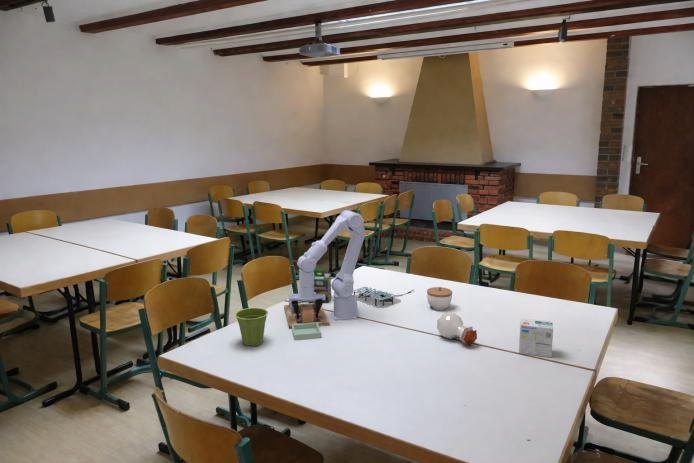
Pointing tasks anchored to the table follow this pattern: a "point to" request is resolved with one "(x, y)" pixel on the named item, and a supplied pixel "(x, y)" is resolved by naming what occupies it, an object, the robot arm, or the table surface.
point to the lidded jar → (439, 297)
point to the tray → (306, 331)
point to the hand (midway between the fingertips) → (307, 317)
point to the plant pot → (252, 325)
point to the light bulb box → (536, 337)
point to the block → (307, 314)
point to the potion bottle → (455, 328)
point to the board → (292, 318)
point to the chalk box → (322, 284)
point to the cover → (299, 302)
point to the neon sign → (376, 298)
